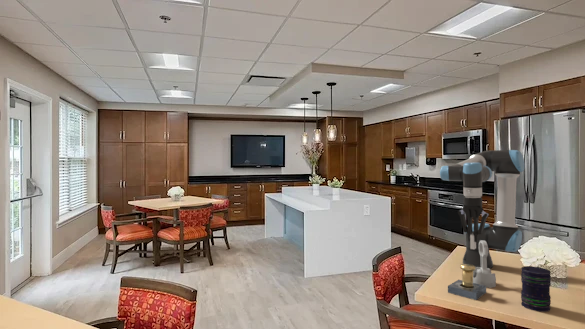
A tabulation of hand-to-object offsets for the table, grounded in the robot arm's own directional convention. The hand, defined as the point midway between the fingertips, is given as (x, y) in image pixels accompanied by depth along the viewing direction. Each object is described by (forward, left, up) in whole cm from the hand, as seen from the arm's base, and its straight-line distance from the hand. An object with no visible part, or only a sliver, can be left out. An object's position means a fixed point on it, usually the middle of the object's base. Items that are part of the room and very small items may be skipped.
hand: (473, 248), depth 161 cm
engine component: (-13, 0, -19) cm, 24 cm away
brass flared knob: (+5, -1, -19) cm, 20 cm away
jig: (+5, -1, -19) cm, 20 cm away
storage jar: (+1, +24, -19) cm, 31 cm away
